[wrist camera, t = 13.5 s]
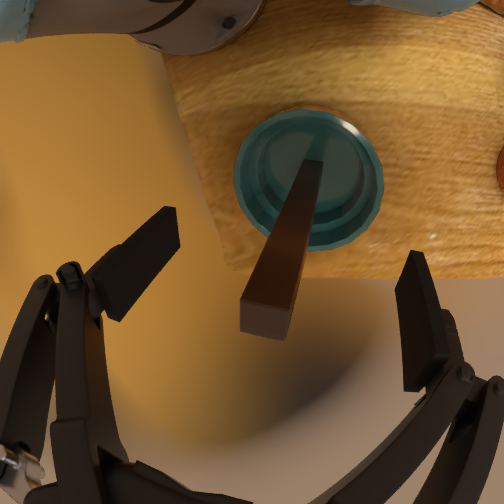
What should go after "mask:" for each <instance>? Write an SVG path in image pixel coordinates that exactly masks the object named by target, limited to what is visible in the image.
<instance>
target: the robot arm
mask: <svg viewBox="0 0 504 504" xmlns="http://www.w3.org/2000/svg"><path fill="white" fill-rule="evenodd" d="M347 1H348V2H349V4H354V5H369V4H375V5H380V6H385V7H390V8H394V9H398V10H402V11H406V12H410V13H414V14H417V15H421V16H429V17H441V16H445V15H448V14H452V13H453V12H460V11H463V10H466V9H468V8H469V7H471V6H473V5H474V4H476V3H477V2H479V1H480V0H347ZM265 3H266V0H0V42H6V41H13V40H14V41H15V42H16V43H19V42H22V41H24V40H25V39H28V38H35V37H42V36H52V35H63V34H81V33H117V34H129V35H130V36H132V37H133V38H135V39H137V40H138V41H136V42H138V43H140V44H141V45H144V46H148V47H149V48H151V49H153V50H156V51H158V52H161V53H165V54H170V55H181V56H192V55H200V54H205V53H209V52H212V51H215V50H217V49H220V48H222V47H224V46H226V45H228V44H230V43H231V42H233V41H234V40H236V39H237V38H239V37H240V36H241V35H242V34H244V33H245V32H246V31H247V30H248V29H249V28H250V27H251V26H252V25H253V23H254V22H255V21H256V20H257V18H258V17H259V15H260V13H261V12H262V10H263V8H264V6H265ZM139 41H140V42H139ZM179 248H180V240H179V233H178V225H177V216H176V208H175V207H168V206H164V207H163V208H161V209H160V210H159V211H158V212H157V213H156V214H154V215H153V216H152V217H151V218H150V219H149V220H148V221H146V222H145V223H144V224H143V225H142V226H141V227H140V228H139V229H137V230H136V231H135V232H134V233H133V234H132V235H131V236H130V237H129V238H128V239H127V240H126V241H125V242H123V243H122V244H121V245H120V244H119V245H117V246H115V247H113V248H111V249H110V250H109V251H108V252H107V253H105V255H104V256H102V257H101V258H100V260H98V261H97V262H96V263H95V264H94V265H93V266H92V267H91V268H90V269H89V270H88V271H87V272H86V273H85V274H83V272H82V269H81V267H80V264H79V263H78V262H75V261H72V262H68V263H65V264H63V265H62V266H60V267H59V268H58V270H57V272H56V275H57V277H58V279H59V282H60V283H55V281H54V279H53V277H52V276H51V275H42V276H40V277H39V278H38V279H37V280H35V282H34V283H33V285H32V287H31V289H30V291H29V293H28V295H27V297H26V299H25V301H24V303H23V305H22V307H21V309H20V312H19V314H18V316H17V318H16V321H15V323H14V325H13V328H12V330H11V333H10V335H9V338H8V340H7V343H6V346H5V349H4V351H3V354H2V357H1V360H0V487H1V488H2V489H3V490H4V491H5V492H6V493H7V494H8V495H9V496H10V497H11V498H13V499H14V500H15V501H16V502H17V503H18V504H253V502H250V501H246V500H242V499H238V498H234V497H231V496H227V495H223V494H214V493H204V492H196V491H192V490H190V489H189V488H187V487H186V486H184V485H183V484H181V483H180V482H178V481H177V480H175V479H173V478H171V477H170V476H168V475H167V474H165V473H163V472H161V471H159V470H157V469H155V468H153V467H150V466H148V465H146V464H144V463H142V462H140V461H138V460H137V461H136V463H132V462H129V459H128V456H127V453H126V451H125V449H124V447H123V445H122V443H121V441H120V439H119V435H118V430H117V426H116V421H115V416H114V411H113V406H112V400H111V394H110V387H109V381H108V373H107V365H106V358H105V357H106V356H105V346H104V334H103V320H102V316H101V313H102V312H103V311H104V310H105V312H106V314H107V316H108V318H110V319H113V320H115V321H117V322H120V321H121V320H122V319H123V317H124V316H125V315H126V314H127V312H128V311H129V310H130V308H131V307H132V306H133V304H134V303H135V302H136V301H137V299H138V298H139V297H140V296H141V294H142V293H143V292H144V291H145V289H146V288H147V287H148V286H149V284H150V283H151V282H152V281H153V279H154V278H155V277H156V276H157V274H158V273H159V272H160V271H161V270H162V268H163V267H164V266H165V265H166V263H167V262H168V261H169V260H170V259H171V258H172V256H173V255H174V254H175V253H176V252H177V250H178V249H179ZM395 295H396V301H397V309H398V317H399V326H400V336H401V347H402V362H403V384H404V391H405V392H419V391H420V390H421V389H422V388H423V387H424V386H425V387H426V394H425V395H424V396H423V397H422V398H421V399H420V400H418V402H416V403H415V406H414V408H413V409H412V410H411V411H410V412H409V414H408V415H407V416H406V417H405V418H404V419H403V420H402V422H401V423H400V424H399V425H398V426H397V427H396V428H395V429H394V430H393V431H392V433H390V434H389V436H388V437H387V438H386V439H385V440H384V441H383V442H382V443H381V444H380V445H379V446H378V447H377V448H376V449H375V450H374V451H372V452H371V453H370V454H369V455H368V456H367V457H366V458H365V459H364V460H363V461H362V462H361V463H359V464H358V465H357V466H356V467H355V468H354V469H353V470H351V471H350V472H349V473H348V474H347V475H345V476H344V477H343V478H342V479H341V480H339V481H338V482H337V483H336V484H334V485H333V486H332V487H331V488H329V489H328V490H327V491H325V492H324V493H322V494H321V495H320V496H318V497H317V498H316V499H314V500H313V501H311V502H310V503H308V504H384V503H385V502H386V501H387V500H388V499H389V498H390V497H391V496H392V495H393V494H394V493H395V492H396V491H397V490H398V489H399V487H401V486H402V484H403V483H404V482H405V481H406V480H407V479H408V478H409V477H410V476H411V474H412V473H413V472H414V471H415V470H416V469H417V467H418V466H419V465H420V464H421V462H422V461H423V460H424V459H425V458H426V456H427V455H428V454H429V452H430V451H431V450H432V449H433V447H434V446H435V445H436V443H437V442H438V441H439V439H440V438H441V436H442V435H443V433H444V432H445V430H446V429H447V428H448V426H449V425H450V423H451V422H452V423H451V425H450V428H449V431H448V433H447V436H446V438H445V441H444V443H443V445H442V448H441V450H440V452H439V455H438V457H437V459H436V461H435V463H434V465H433V467H432V469H431V471H430V474H429V475H428V477H427V479H426V481H425V483H424V485H423V487H422V488H421V490H420V492H419V494H418V495H417V497H416V499H415V501H414V502H413V504H477V502H478V500H479V498H480V495H481V493H482V490H483V488H484V485H485V483H486V480H487V477H488V474H489V472H490V469H491V466H492V463H493V460H494V456H495V453H496V450H497V446H498V442H499V439H500V434H501V430H502V426H503V422H504V379H503V378H501V377H500V376H493V377H492V378H491V379H489V380H488V381H486V380H483V379H481V378H479V377H476V376H475V372H474V370H473V368H472V367H471V365H470V364H468V363H467V362H465V361H464V357H463V352H462V348H461V343H460V340H459V336H458V331H457V329H456V324H455V320H454V318H453V316H452V315H451V313H450V311H449V310H446V309H441V307H440V304H439V300H438V296H437V293H436V290H435V287H434V283H433V280H432V277H431V274H430V271H429V268H428V265H427V262H426V259H425V256H424V253H423V252H419V251H415V250H410V253H409V256H408V258H407V261H406V263H405V266H404V268H403V271H402V273H401V276H400V278H399V280H398V283H397V285H396V287H395ZM46 314H47V316H48V317H47V319H46V320H45V315H46ZM54 380H55V386H56V387H55V388H56V409H57V410H56V411H57V419H56V421H54V422H52V423H51V425H50V437H51V446H52V454H53V460H54V467H55V473H56V478H57V482H54V483H50V484H47V485H43V486H42V485H41V482H40V479H42V478H44V476H45V470H44V468H43V467H42V466H40V463H39V462H40V459H41V455H42V451H43V447H44V440H45V433H46V426H47V418H48V412H49V406H50V400H51V394H52V389H53V385H54Z"/></svg>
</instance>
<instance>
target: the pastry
mask: <svg viewBox="0 0 504 504" xmlns="http://www.w3.org/2000/svg"><path fill="white" fill-rule="evenodd" d="M480 2H481V3H483V4H485V5H487V6H488V7H490V8H492V9H493V10H494V11H496V12H497V13H499V14H503V15H504V0H480Z"/></svg>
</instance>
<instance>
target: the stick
mask: <svg viewBox="0 0 504 504" xmlns="http://www.w3.org/2000/svg"><path fill="white" fill-rule="evenodd" d="M322 171H323V162H320V161H313V160H307V159H304V160H303V162H302V164H301V166H300V169H299V171H298V173H297V175H296V178H295V180H294V182H293V184H292V186H291V189H290V191H289V193H288V195H287V198H286V200H285V202H284V204H283V206H282V209H281V211H280V213H279V215H278V217H277V220H276V222H275V224H274V226H273V229H272V231H271V233H270V235H269V237H268V240H267V242H266V244H265V246H264V248H263V250H262V253H261V255H260V257H259V259H258V261H257V264H256V266H255V268H254V270H253V272H252V274H251V277H250V279H249V281H248V283H247V285H246V288H245V290H244V292H243V294H242V296H241V298H240V331H241V332H244V333H248V334H252V335H256V336H261V337H265V338H269V339H274V340H278V341H285V339H286V335H287V331H288V328H289V324H290V320H291V316H292V312H293V308H294V304H295V300H296V296H297V292H298V287H299V284H300V279H301V275H302V271H303V266H304V262H305V258H306V253H307V249H308V244H309V239H310V235H311V230H312V225H313V220H314V215H315V210H316V205H317V200H318V195H319V189H320V184H321V178H322Z"/></svg>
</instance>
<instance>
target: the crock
mask: <svg viewBox="0 0 504 504" xmlns="http://www.w3.org/2000/svg"><path fill="white" fill-rule="evenodd" d="M497 178H498V182H499V185H500V187H501V189H502V190H503V192H504V148H503V149H502V151H501V153H500V155H499V158H498V162H497Z"/></svg>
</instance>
